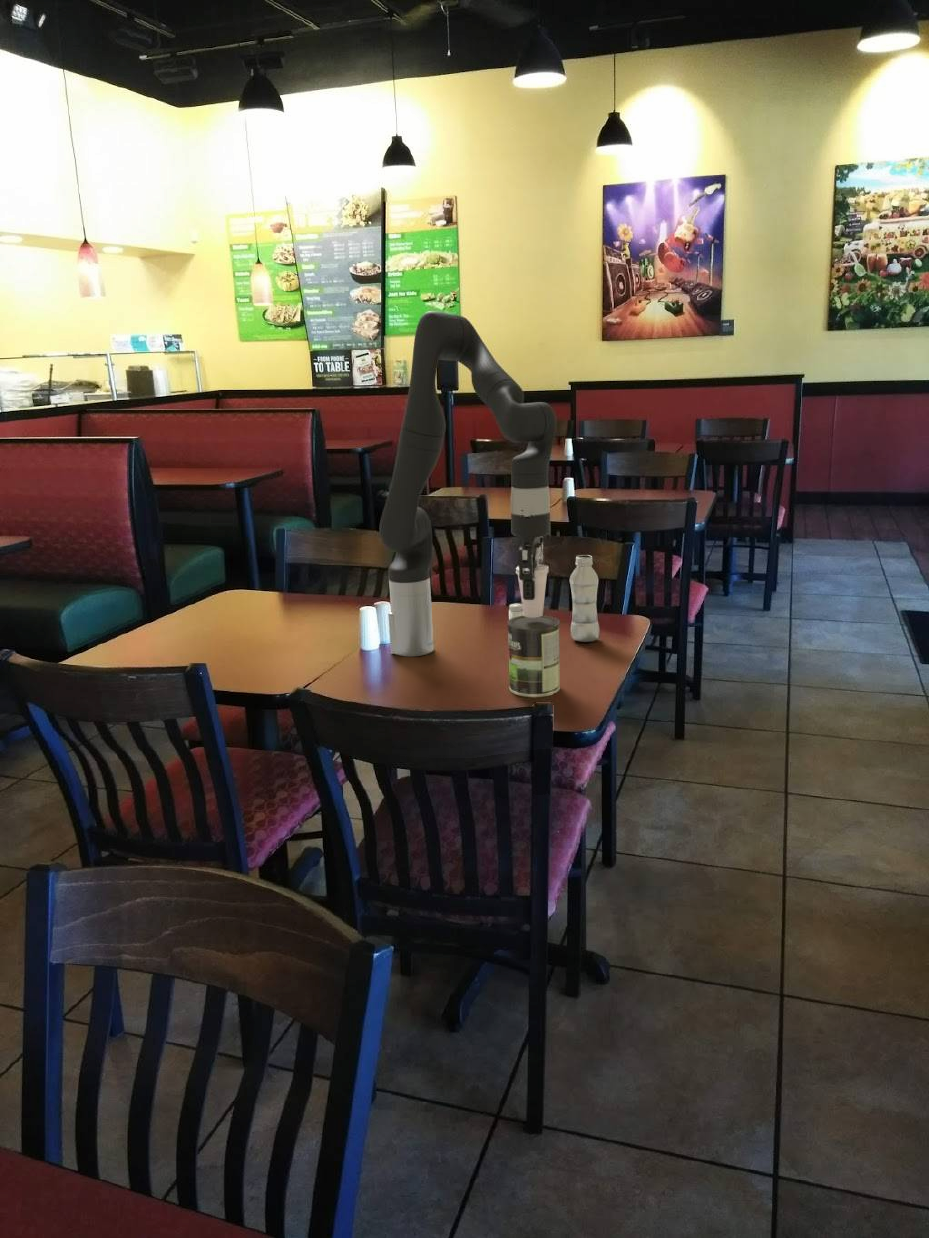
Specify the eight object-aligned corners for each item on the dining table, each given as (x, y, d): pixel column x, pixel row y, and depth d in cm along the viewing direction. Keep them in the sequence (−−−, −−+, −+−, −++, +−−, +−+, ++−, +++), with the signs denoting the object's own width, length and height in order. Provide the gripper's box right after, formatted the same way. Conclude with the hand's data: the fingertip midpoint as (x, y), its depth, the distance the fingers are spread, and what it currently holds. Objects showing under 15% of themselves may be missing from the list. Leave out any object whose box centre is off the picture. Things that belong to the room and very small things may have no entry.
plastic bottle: (592, 646, 213) (591, 560, 207) (565, 642, 216) (564, 558, 211) (604, 638, 218) (603, 555, 212) (577, 635, 221) (576, 552, 216)
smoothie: (547, 619, 180) (546, 548, 176) (514, 619, 181) (512, 548, 177) (551, 610, 186) (550, 541, 182) (519, 610, 187) (517, 542, 183)
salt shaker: (508, 640, 220) (507, 607, 218) (511, 636, 223) (510, 603, 221) (523, 641, 219) (522, 607, 217) (526, 636, 222) (525, 603, 220)
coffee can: (517, 700, 182) (515, 631, 178) (503, 683, 192) (500, 617, 188) (567, 694, 184) (566, 625, 180) (550, 677, 194) (549, 612, 190)
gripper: (518, 504, 186) (520, 585, 190) (503, 516, 172) (506, 604, 177) (555, 504, 184) (556, 586, 188) (543, 516, 170) (545, 605, 175)
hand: (532, 594), depth 183 cm, fingers closed on smoothie, 6 cm apart
